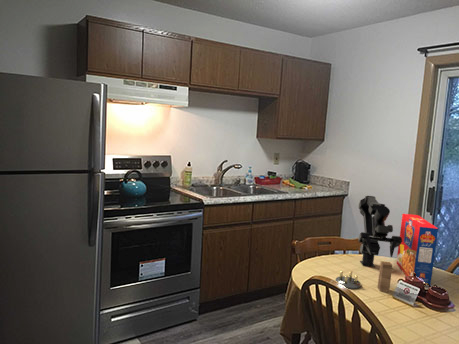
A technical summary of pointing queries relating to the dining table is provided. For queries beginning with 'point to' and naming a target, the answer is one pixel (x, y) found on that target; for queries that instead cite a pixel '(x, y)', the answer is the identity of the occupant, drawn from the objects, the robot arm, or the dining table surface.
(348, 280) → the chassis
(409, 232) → the pasta box
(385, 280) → the walnut block
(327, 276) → the dining table surface
